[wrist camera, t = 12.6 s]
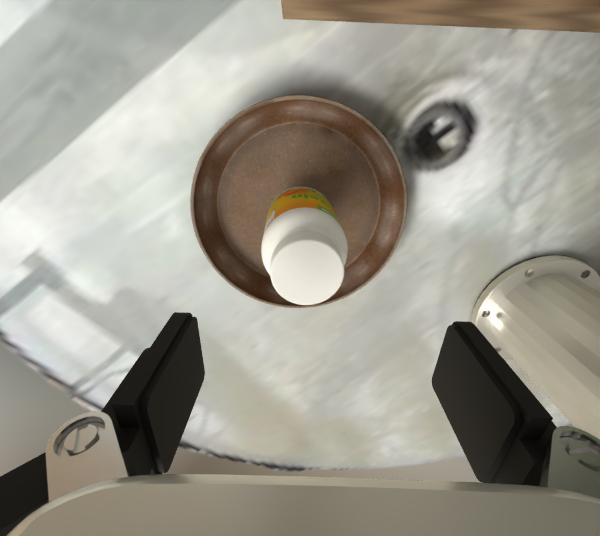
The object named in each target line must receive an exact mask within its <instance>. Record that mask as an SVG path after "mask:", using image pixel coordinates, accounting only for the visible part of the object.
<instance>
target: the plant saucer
mask: <svg viewBox="0 0 600 536" xmlns="http://www.w3.org/2000/svg"><path fill="white" fill-rule="evenodd" d="M294 187H309V188H312V189H315V190H317V191H318V192H320V193H321V194H323V195H324V196H325V197H326V198H327V200H328V201H329V203H330V204H331V206H332V208H333V210H334V213H335V215H336V217H337V219H338V221H339V223H340V225H341V227H342V229H343V231H344V233H345V236H346V240H347V246H348V252H347V259H346V262H345V265H344V277H343V281H342V283H341V286H340V287H339V289H338V290H337V291H336V293H335V294H334V295H332V296H331V297H330V298H329V299H327V300H325V301H323V302H321V303H317V304H313V305H299V304H295V303H292V302H290V301H288V300H286V299H284V298H283V297H282V296H281V295H280V294H279V293H278V292H277V291H276V290H275V288H274V286H273V284H272V281H271V277H270V275H269V273H268V272H267V270H266V268H265V266H264V263H263V260H262V254H261V247H262V239H263V235H264V230H265V225H266V220H267V216H268V212H269V209H270V206H271V204H272V203H273V201H274V200H275V198H276V197H277V196H278V195H279V194H281V193H282V192H284V191H285V190H287V189H290V188H294ZM190 202H191V217H192V223H193V227H194V231H195V235H196V237H197V240H198V242H199V245H200V247H201V249H202V251H203V253H204V254H205V256H206V258H207V259H208V261H209V262H210V264H211V265H212V266H213V268H214V269H215V270H216V271H217V272H218V273H219V275H220V276H221V277H223V278H224V279H225V280H226V281H227V282H228V283H229V284H230V285H232V286H233V287H234V288H236V289H237V290H239V291H240V292H242V293H243V294H245V295H247V296H249V297H251V298H253V299H256V300H258V301H261V302H264V303H267V304H271V305H274V306H281V307H289V308H306V307H315V306H321V305H325V304H329V303H332V302H335V301H338V300H340V299H343V298H345V297H347V296H349V295H351V294H352V293H354V292H356V291H357V290H359V289H361V288H362V287H363V286H365V285H366V284H367V283H369V282H370V281H371V280H372V279H373V278H374V277H375V276H376V275H377V274H378V273H379V272H380V271H381V270H382V269H383V268H384V266H385V265H386V263H387V262H388V261H389V259H390V257H391V256H392V254H393V252H394V251H395V249H396V247H397V244H398V242H399V240H400V237H401V234H402V231H403V227H404V223H405V218H406V210H407V191H406V184H405V179H404V175H403V171H402V168H401V165H400V162H399V160H398V158H397V156H396V154H395V152H394V150H393V148H392V146H391V145H390V143H389V142H388V140H387V139H386V138H385V136H384V135H383V134H382V133H381V132H380V131H379V130H378V129H377V128H376V127H375V126H374V125H373V124H372V123H371V122H370V121H369V120H368V119H367V118H365V117H364V116H362V115H361V114H360V113H358V112H356V111H355V110H353V109H351V108H349V107H347V106H345V105H343V104H341V103H338V102H335V101H332V100H328V99H325V98H320V97H315V96H307V95H290V96H283V97H276V98H273V99H268V100H265V101H263V102H260V103H257V104H255V105H253V106H251V107H249V108H247V109H245V110H243V111H242V112H240V113H239V114H237V115H236V116H234V117H233V118H232V119H230V120H229V121H228V122H227V123H226V124H225V125H224V126H223V127H221V128H220V129H219V131H218V132H217V133H216V134H215V135H214V136H213V138H212V139H211V140H210V142H209V143H208V145H207V146H206V148H205V150H204V152H203V153H202V155H201V157H200V159H199V162H198V164H197V167H196V170H195V174H194V177H193V183H192V188H191V200H190Z"/></svg>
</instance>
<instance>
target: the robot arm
mask: <svg viewBox="0 0 600 536" xmlns="http://www.w3.org/2000/svg"><path fill="white" fill-rule="evenodd" d="M503 358H505V359H512V360H515V361H516V362H517V363H518V364H519V366H520V367H521V368H522V369H523V370H524V371H525V372H526V373H527V374H528V376H529V377H530V378H531V379H532V380H533V381H534V382H535V383H536V384H537V386H538V387H539V388H540V389H541V390H542V391H543V392H544V393H545V394H546V396H547V397H548V398H549V399H550V400H551V401H552V402H553V403H554V404H555V406H556V407H557V408H558V409H559V410H560V411H561V412H562V413H563V414H564V416H565V417H566V418H567V419H568V420H569V421H570V422H571V423H572V424H573V426H574V427H569V426H560V427H558V428H557V427H556V426H555V425H554V423H553V422H552V419H553V418H552V417H551V415H550V414H549V413H548V412H547V411H546V409H545V408H544V407H543V406H542V405H541V403H540V402H539V401H538V400H537V399H536V397H535V396H534V395H533V394H532V393H531V391H530V390H529V389H528V388H527V387H526V386H525V384H524V383H523V382H522V381H521V380H520V378H519V377H518V376H517V375H516V374H515V372H514V371H513V370H512V369H511V368H510V366H509V365H508V364H507V363H506V362H505V360H504V359H503ZM204 375H205V371H204V364H203V357H202V350H201V343H200V337H199V330H198V323H197V318H196V317H192V314H191V313H176V312H175V313H173V315H172V316H171V317H170V319H169V320H168V322H167V323H166V325H165V326H164V328H163V329H162V331H161V332H160V334H159V335H158V337H157V338H156V340H155V341H154V343H153V344H152V346H151V347H150V348H147V349H145V350H144V351H143V352H142V354H141V355H140V357H139V358H138V360H137V361H136V362H135V364H134V365H133V367H132V368H131V370H130V371H129V372H128V374H127V375H126V377H125V378H124V380H123V381H122V383H121V384H120V385H119V387H118V388H117V390H116V391H115V393H114V394H113V395H112V397H111V398H110V400H109V401H108V403H107V404H106V406H105V407H104V408H103V410H102V411H101V412H97V411H94V412H88V413H84V414H81V415H79V416H76V417H74V418H73V419H71V420H69V421H67V422H66V423H65V424H63V425H62V426H61V427H59V428H58V429H57V430H56V432H55V433H54V434H53V435H52V436H51V438H50V440H49V441H48V443H47V446H46V452H45V453H43V454H41V455H40V456H38V457H36V458H34V459H32V460H30V461H28V462H27V463H25V464H23V465H21V466H19V467H17V468H16V469H14V470H12V471H10V472H8V473H6V474H4V475H3V476H1V477H0V536H600V276H599V275H598V274H597V272H596V271H595V270H594V269H593V268H591V267H590V266H588V265H587V264H585V263H583V262H581V261H579V260H577V259H574V258H571V257H566V256H544V257H538V258H534V259H531V260H528V261H525V262H522V263H520V264H518V265H516V266H514V267H512V268H510V269H509V270H507V271H505V272H504V273H502V274H501V275H500V276H498V277H497V278H496V279H495V280H494V281H493V282H491V283H490V284H489V286H488V287H487V288H486V289H485V290H484V291H483V293H482V294H481V296H480V297H479V299H478V300H477V302H476V305H475V307H474V310H473V314H472V319H471V322H457V321H456V322H454V323H453V324H452V325H450V326H448V328H447V331H446V334H445V338H444V341H443V344H442V347H441V351H440V354H439V357H438V361H437V364H436V367H435V370H434V374H433V377H432V386H433V389H434V391H435V393H436V395H437V397H438V399H439V401H440V403H441V405H442V407H443V409H444V411H445V414H446V416H447V418H448V420H449V422H450V424H451V426H452V428H453V430H454V432H455V434H456V436H457V438H458V440H459V442H460V445H461V447H462V449H463V451H464V453H465V455H466V457H467V459H468V461H469V463H470V465H471V467H472V469H473V471H474V474H475V476H476V477H477V479H478V480H479V481H480V482H483V483H476V482H450V481H449V482H447V481H422V480H420V481H419V480H393V479H362V478H361V479H360V478H330V477H295V476H293V477H292V476H255V475H253V476H252V475H202V474H199V475H196V474H194V475H193V474H188V475H187V474H186V475H185V474H163V475H162V473H166V472H167V471H168V470H169V468H170V466H171V463H172V461H173V458H174V455H175V453H176V450H177V448H178V445H179V443H180V440H181V437H182V435H183V432H184V430H185V427H186V424H187V422H188V419H189V417H190V414H191V411H192V409H193V406H194V404H195V401H196V399H197V396H198V393H199V391H200V388H201V386H202V383H203V380H204Z"/></svg>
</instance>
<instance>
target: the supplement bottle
mask: <svg viewBox="0 0 600 536" xmlns="http://www.w3.org/2000/svg"><path fill="white" fill-rule="evenodd" d="M347 252H348V246H347V240H346V236H345V233H344V231H343V229H342V227H341V225H340V223H339V221H338V219H337V217H336V215H335V213H334V210H333V208H332V206H331V204H330V203H329V201H328V200H327V198H326V197H325V196H324V195H323V194H321V193H320V192H318V191H317V190H315V189H312V188H309V187H294V188H290V189H287V190H285V191H284V192H282V193H281V194H279V195H278V196H277V197H276V198H275V200H274V201H273V203H272V204H271V206H270V209H269V212H268V216H267V220H266V225H265V230H264V235H263V239H262V247H261V254H262V260H263V263H264V266H265V268H266V270H267V272H268V273H269V275H270V277H271V281H272V284H273V286H274V288H275V290H276V291H277V292H278V293H279V294H280V295H281V296H282V297H283V298H284V299H286V300H288V301H290V302H292V303H295V304H299V305H313V304H317V303H321V302H323V301H325V300H327V299H329V298H330V297H331V296H332V295H334V294H335V293H336V291H337V290H338V289H339V287H340V286H341V283H342V281H343V277H344V265H345V262H346V259H347Z"/></svg>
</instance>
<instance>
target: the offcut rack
mask: <svg viewBox="0 0 600 536" xmlns="http://www.w3.org/2000/svg"><path fill="white" fill-rule="evenodd" d="M281 4H282V12H283V19H300V20H323V21H346V22H370V23H393V24H416V25H440V26H463V27H486V28H510V29H533V30H556V31H580V32H600V0H281Z"/></svg>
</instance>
